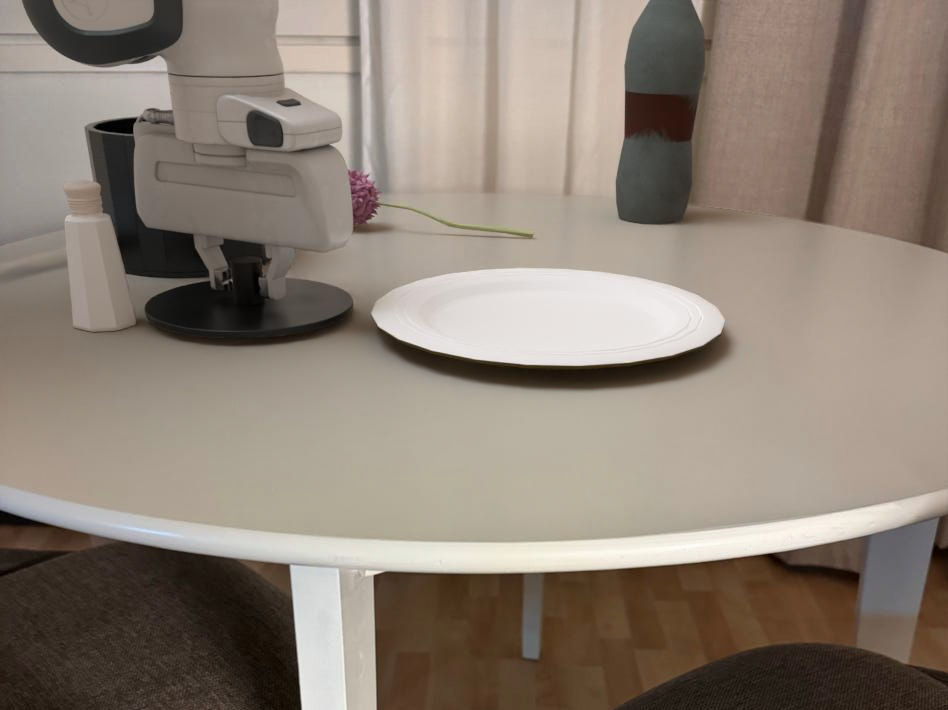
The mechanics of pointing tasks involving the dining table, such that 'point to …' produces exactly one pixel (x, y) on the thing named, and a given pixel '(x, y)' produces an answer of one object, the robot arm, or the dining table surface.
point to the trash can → (136, 241)
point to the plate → (548, 318)
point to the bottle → (660, 112)
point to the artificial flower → (367, 203)
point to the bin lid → (248, 306)
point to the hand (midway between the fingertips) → (248, 293)
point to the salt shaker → (95, 263)
